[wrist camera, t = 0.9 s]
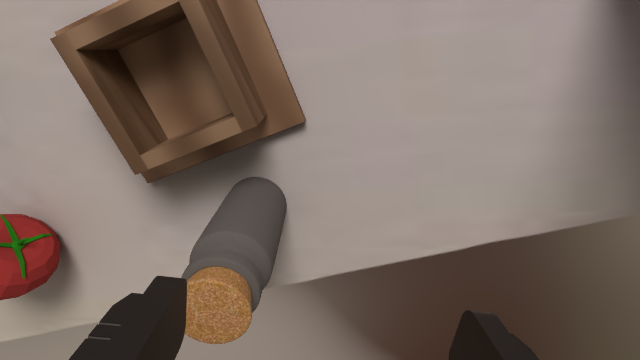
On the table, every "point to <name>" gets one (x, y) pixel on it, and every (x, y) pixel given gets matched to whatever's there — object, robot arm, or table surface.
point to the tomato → (25, 254)
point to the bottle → (233, 261)
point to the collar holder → (180, 79)
